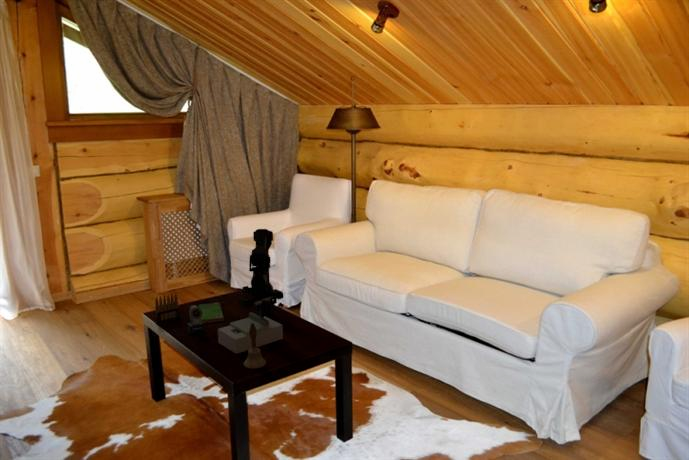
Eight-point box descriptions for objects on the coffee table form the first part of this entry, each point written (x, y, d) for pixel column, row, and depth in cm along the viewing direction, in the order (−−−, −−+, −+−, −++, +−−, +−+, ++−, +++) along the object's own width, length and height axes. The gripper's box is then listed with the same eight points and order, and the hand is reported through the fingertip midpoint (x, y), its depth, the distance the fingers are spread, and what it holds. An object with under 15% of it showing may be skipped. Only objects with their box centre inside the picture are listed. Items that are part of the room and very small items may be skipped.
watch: (192, 335, 242) (190, 310, 239) (186, 328, 248) (184, 304, 246) (205, 332, 245) (203, 307, 242) (199, 326, 251) (197, 302, 249)
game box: (201, 325, 255) (198, 308, 273) (224, 323, 257) (219, 306, 276) (201, 319, 254) (198, 302, 273) (223, 317, 257) (219, 300, 275)
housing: (264, 328, 248) (263, 315, 247) (282, 338, 237) (282, 325, 236) (218, 342, 234) (217, 329, 233) (236, 353, 224) (235, 339, 222)
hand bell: (256, 370, 210) (254, 329, 206) (239, 365, 214) (237, 325, 210) (270, 361, 217) (269, 322, 213) (253, 357, 221) (252, 317, 217)
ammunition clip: (178, 317, 262) (176, 292, 259) (180, 318, 261) (178, 293, 258) (155, 322, 255) (153, 297, 253) (157, 324, 254) (155, 298, 251)
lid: (252, 319, 242) (251, 312, 242) (269, 328, 233) (268, 320, 232) (230, 325, 236) (229, 318, 235) (246, 335, 226) (246, 327, 225)
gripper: (268, 273, 246) (269, 307, 249) (230, 282, 234) (232, 318, 237) (283, 279, 238) (284, 314, 241) (244, 288, 226) (246, 326, 229)
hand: (261, 318), depth 237 cm, fingers closed
